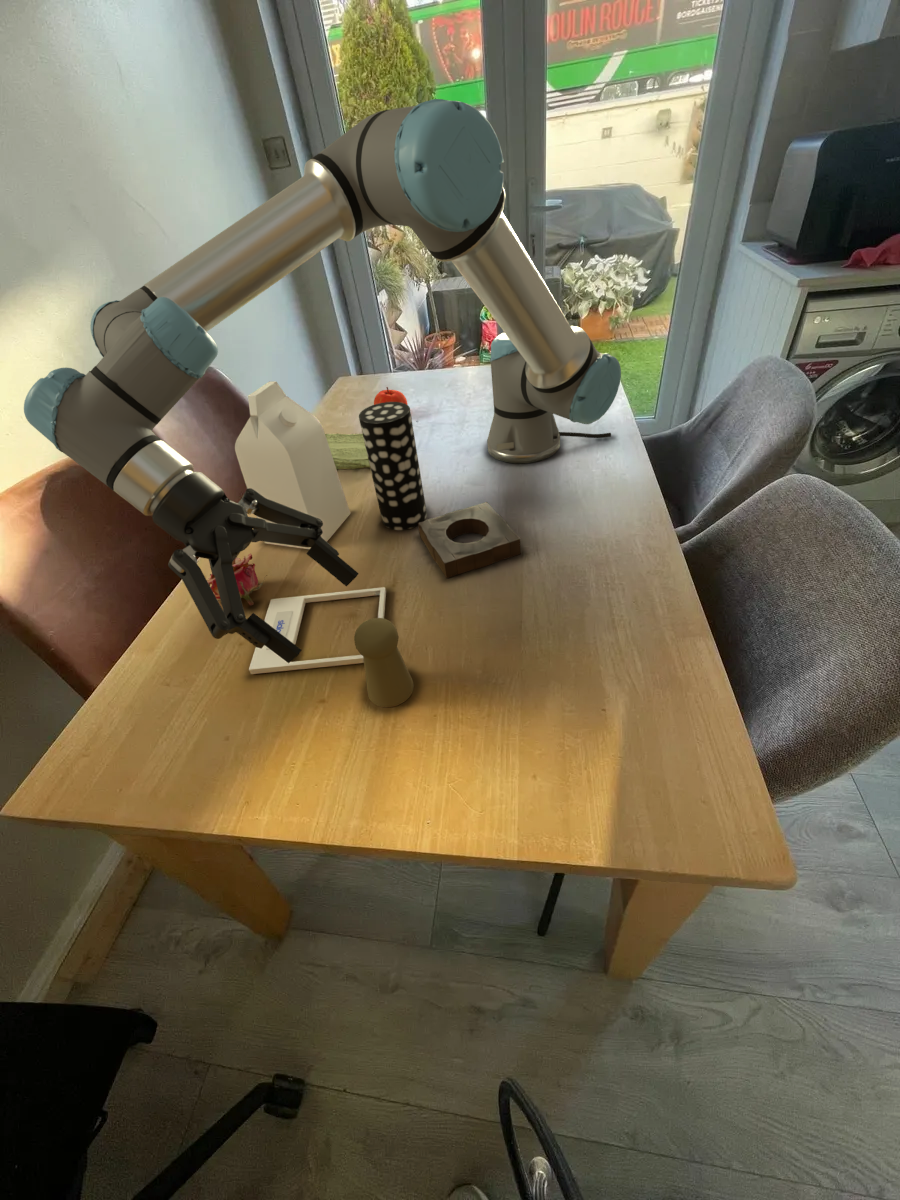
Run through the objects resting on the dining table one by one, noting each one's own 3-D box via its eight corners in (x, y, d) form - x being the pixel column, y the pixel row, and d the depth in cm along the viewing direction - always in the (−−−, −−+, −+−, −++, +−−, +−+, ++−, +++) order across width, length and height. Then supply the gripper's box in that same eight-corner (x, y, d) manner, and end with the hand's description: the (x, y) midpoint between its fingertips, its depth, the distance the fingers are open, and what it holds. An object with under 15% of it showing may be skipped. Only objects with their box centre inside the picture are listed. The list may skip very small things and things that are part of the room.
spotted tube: (420, 530, 98) (402, 423, 84) (376, 529, 99) (351, 423, 86) (431, 505, 104) (415, 401, 90) (389, 504, 105) (367, 402, 92)
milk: (299, 507, 108) (254, 373, 91) (350, 513, 105) (313, 374, 88) (265, 543, 100) (208, 403, 83) (319, 550, 96) (271, 405, 79)
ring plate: (488, 515, 99) (487, 500, 97) (522, 554, 89) (521, 539, 87) (419, 536, 96) (416, 522, 94) (446, 579, 87) (443, 564, 85)
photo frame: (270, 598, 86) (384, 586, 85) (272, 603, 87) (386, 591, 86) (248, 668, 75) (378, 655, 74) (250, 674, 76) (380, 661, 75)
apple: (370, 424, 135) (363, 391, 130) (389, 411, 140) (384, 379, 135) (396, 428, 131) (390, 395, 126) (415, 415, 136) (410, 382, 131)
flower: (286, 582, 88) (255, 540, 86) (244, 610, 80) (210, 565, 79) (254, 602, 93) (226, 563, 92) (213, 630, 86) (181, 588, 85)
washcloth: (374, 471, 116) (371, 457, 114) (298, 470, 120) (294, 457, 118) (391, 442, 126) (389, 429, 124) (321, 443, 130) (317, 430, 128)
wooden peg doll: (368, 674, 73) (349, 613, 66) (413, 667, 73) (398, 606, 66) (366, 710, 69) (346, 650, 62) (414, 703, 69) (399, 642, 62)
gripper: (233, 460, 72) (359, 566, 76) (78, 579, 55) (253, 706, 59) (252, 423, 66) (386, 540, 71) (88, 542, 49) (279, 684, 54)
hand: (326, 616), depth 65 cm, fingers open, 13 cm apart
